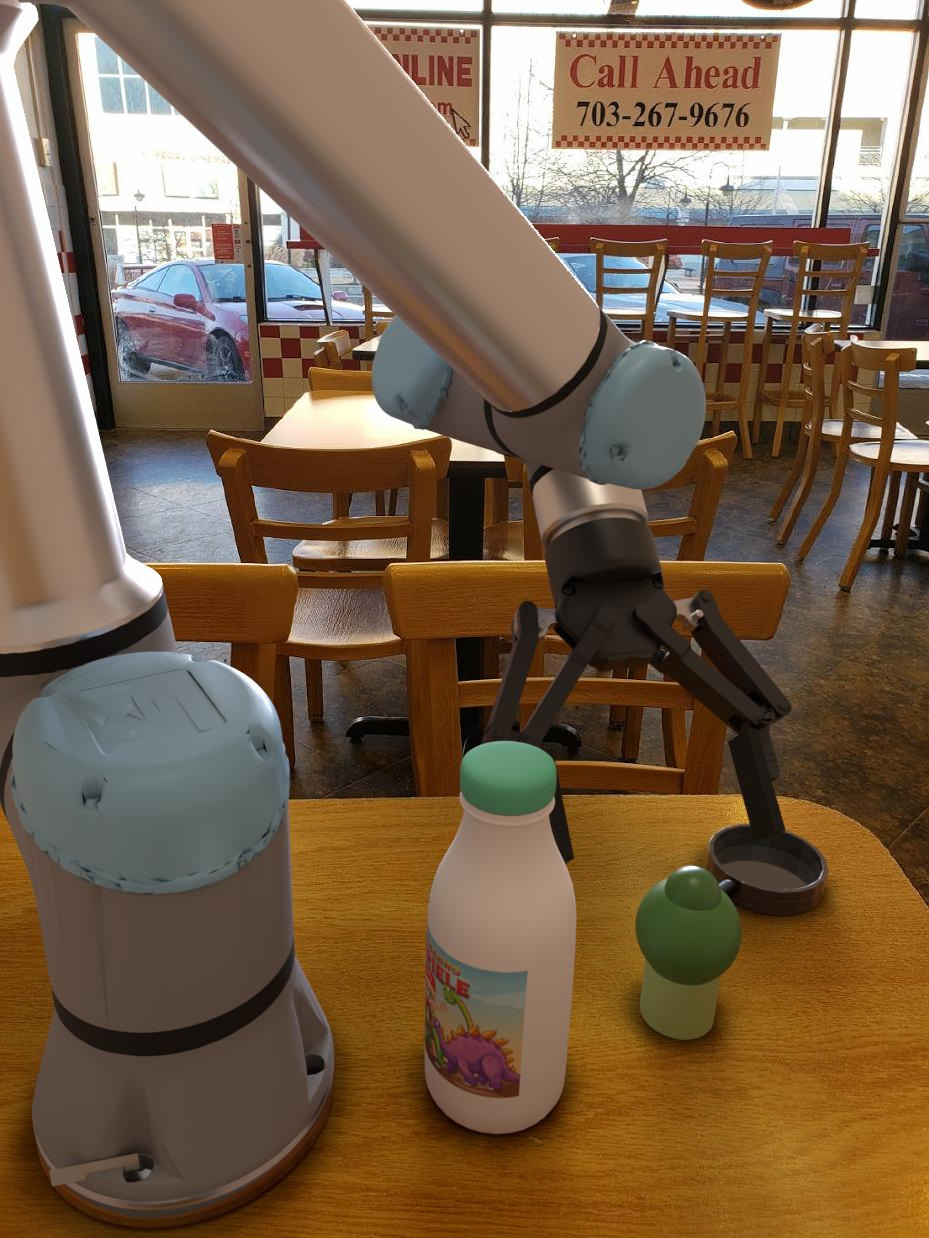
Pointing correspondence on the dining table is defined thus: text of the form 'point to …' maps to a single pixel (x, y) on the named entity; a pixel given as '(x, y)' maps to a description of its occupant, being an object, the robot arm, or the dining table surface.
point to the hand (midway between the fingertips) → (668, 850)
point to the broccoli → (685, 951)
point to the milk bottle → (500, 948)
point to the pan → (768, 870)
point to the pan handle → (729, 887)
